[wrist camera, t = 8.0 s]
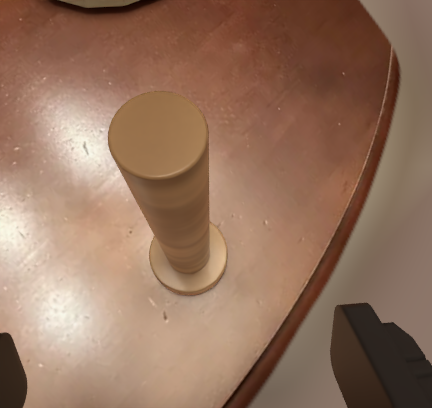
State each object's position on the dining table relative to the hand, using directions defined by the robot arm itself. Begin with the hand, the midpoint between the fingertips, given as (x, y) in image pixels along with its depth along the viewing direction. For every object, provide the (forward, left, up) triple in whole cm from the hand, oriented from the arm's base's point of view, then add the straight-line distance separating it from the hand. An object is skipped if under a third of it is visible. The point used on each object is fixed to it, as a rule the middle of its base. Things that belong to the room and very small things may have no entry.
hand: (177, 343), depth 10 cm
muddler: (0, -5, -13) cm, 14 cm away
